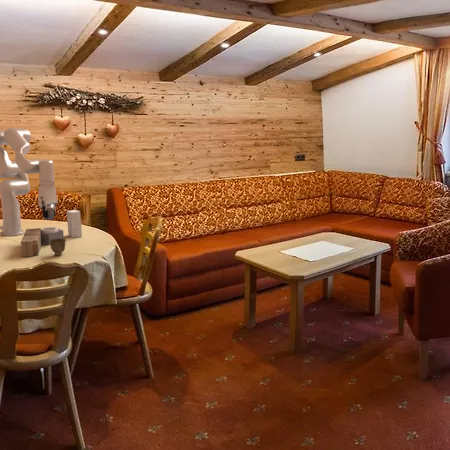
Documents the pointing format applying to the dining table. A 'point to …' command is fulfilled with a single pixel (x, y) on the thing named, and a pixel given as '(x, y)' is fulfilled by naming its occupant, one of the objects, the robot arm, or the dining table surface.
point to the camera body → (50, 234)
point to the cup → (58, 246)
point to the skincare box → (74, 223)
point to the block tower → (31, 242)
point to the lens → (50, 212)
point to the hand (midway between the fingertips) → (49, 216)
